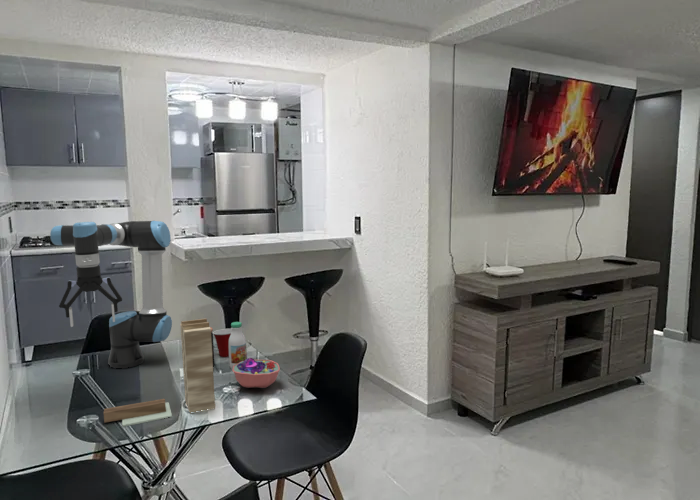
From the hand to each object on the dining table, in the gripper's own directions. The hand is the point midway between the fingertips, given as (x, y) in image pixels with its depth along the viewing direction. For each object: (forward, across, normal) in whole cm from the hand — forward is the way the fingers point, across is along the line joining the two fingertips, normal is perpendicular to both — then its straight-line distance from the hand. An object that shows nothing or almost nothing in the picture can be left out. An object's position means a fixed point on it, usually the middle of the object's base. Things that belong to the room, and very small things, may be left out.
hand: (93, 323), depth 187 cm
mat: (+32, +15, -15) cm, 38 cm away
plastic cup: (+32, +53, +35) cm, 71 cm away
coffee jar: (+32, +40, +21) cm, 55 cm away
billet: (+31, +12, -15) cm, 36 cm away
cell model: (+32, +57, -8) cm, 66 cm away
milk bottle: (+32, +55, +17) cm, 66 cm away
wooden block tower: (+32, +34, -15) cm, 48 cm away
